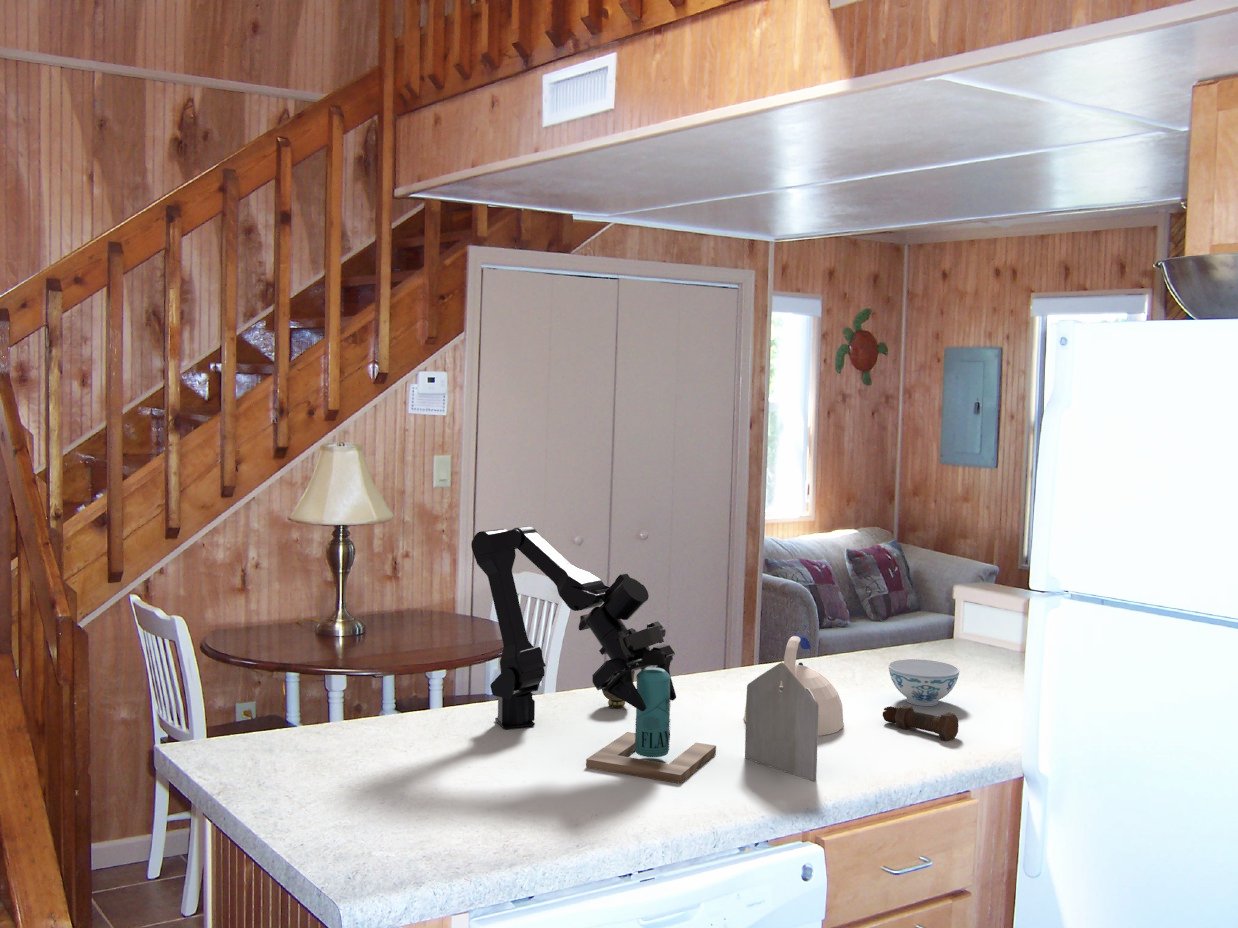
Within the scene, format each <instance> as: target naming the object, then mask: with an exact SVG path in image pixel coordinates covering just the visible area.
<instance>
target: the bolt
mask: <svg viewBox="0 0 1238 928" xmlns="http://www.w3.org/2000/svg"><path fill="white" fill-rule="evenodd" d="M882 717H883V719H884V721H885V722H888V723H891V724H895V725H896V727H897V728H898V729H901V730H908V729H911V728H913V729H918V730H923V731H925V732H930V733H931V732H932V733H935V734H937V735H938V737H939V739H940V740H941V741H944V742H949V741H950V742H951V741H953V740H954V739H955V738H956V737H957V736H958V733H959V719H958V717H957V715H956V714H955V713H954V712H950V711H949V712H946V713H943V714H940V716H939V715H938V716H937V715H933V714H929V713H925V712H919V711H915V709H914V708H913V707H912V706H911V705H907V704H906V705H901V706H899V707H896V706H892V705H891V706H886V707H884V708H883V711H882Z"/></svg>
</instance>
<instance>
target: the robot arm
mask: <svg viewBox="0 0 1238 928" xmlns="http://www.w3.org/2000/svg"><path fill="white" fill-rule="evenodd" d="M470 547H471V550H472V553H473V557H474V559H475V562H476V565H477V566H478V567H479V568H480V569H481V571H482V572H484V574H485V575H486V576H487V578H488V583H489V589H490V592H491V597H492V601H493V604H494V609H495V614H496V618H497V623H498V628H499V631H500V636H501V641H502V644H503V648H502V652H501V655H500V660H499V667H500V674H498V676H497V677H496V678H494V680H493V681H492V682H491V684H490V690H491V695H492V696H493V697H497V717H495V719H494V720H495V721H496V722H497V724H498V725H499V726H500V727H501V728H503V729H505V730H506V729H507V730H508V729H516V728H527V727H534V726H536V725H535V724H536V723H535V722H534V721H535V716H536V715H535V711H536V709H535V708H536V705H535V704H536V703H535V702H536V701H535V700H534V699H533V692H537V691H539V688H540V685H541V681H543V678H544V677H545V667H546V666H547V665H546V663H545V661H544V657H543V650H542V648H541V646H536V647H534V646H533V644H532V643H531V641H529V639H528V635H527V630H526V629H527V628H526V625H525V622H524V617H523V612H522V610H521V603H520V599H519V597H518V596H519V595H518V592H517V587H516V583H515V580H514V574H513V567H514V563H515V560H516V550H519V552H520V553H521V554H523V555H524V556H525V557H526V558H527V559H528V560H529V561H530V562H531V563H532V564H533V565H534V566H536V568H538V569H539V570H540V571H541V572H542V573H543V574H544V575H545V576H546V577H548V578H549V579H550V580H551V582H553V584H554V586H556V589H557V592H558V596H559V597H560V599H561V600H562V601H563V602H564V603H565V605H566V606H567V607H568V608H569V609H570V610H572V611H574V612H578V611H583V610H584V611H585V610H587V609H590V610H591V611H589V612H588V614H582V615H580V617H579V619H580V621H579V624H578V631H585V630H591V632H592V634H593V635H594V637H595V639H596V640H597V641H598V643H599V644H600V646H601V648H600V649H599V650H598V651H599V653H600V654H601V656H604V655H607V657H609V659H608V660H606V661H604V663H603V664H601V666H600V667H599V668H598V669H597V670H595V672H593V674H592V677H591V678H592V679H591V682H592V684H593V685H594V687H595V689H596V690H597V691H600V690H601V691H602V689H604V688H605V689H604V690H603V691H604V692H608V693H610V694H612V695H614V696H616V697H618V698H620V699H622V700H623V701H625V703H627V704H629V705H630V706H632V707H634V708H635V709H636V708H637V709H639V710H640V711H644V710H646V705H645V703H644V701H643V699H642V698H641V696H640V694H639V692H638V691H637V686H635V683H634V681H633V682H632V674H631V672H632V671H635V672H636V671H638V670H640V671H641V670H643V669H645V668H651V667H655V668H662V669H664V670H665V671H666V672H667V673H668V674H669V675H670V677H671V678H670V690H671V691H670V697H671V701H672V702H673V701H674V700H676V699H677V694H676V690H675V688H674V684H673V680H672V676H671V671H670V666H671V662H673V661H674V660H673V659H674V656H675V655H676V653H675V651H674V650H673V648H672V647H671V645H669V644H665V640H664V638H665V636H666V629H665V628H664V627H663V625H662V624H661V623H660V622H659V620H657V621H653V622H651V623H647V624H646V628H644V629H641V630H639V631H637V630H636V629H634V628H627V626H626V624H625V623H624V622H623V621H628V620H629V619H631V617H632V616H634V615H635V614H636V612H638V610H640V609H641V607H642V606H643V605H644V604H645V603H646V602H647V601H648V600H649V591H648V590H647V588H646V586H645V585H644V584H642V583H641V582H639V581H638V580H637V579H635V578H632V577H631V576H630V575H629V573H626V572H625V573H621V574H619V575H618V576H617V577H616V579H615V580H614V582H613V583H612V584H611V585H607V584H605V583H604V582H603V580H601V579H600V578H599V577H597V576H596V575H594V574H592V573H591V572H589V571H586V570H584V569H580V568H578V567H576V566H575V565H573V564H571V563H570V561H569V560H567V558H565V557H564V556H563V555H562V554H561V553H559V552H558V550H556V549H555V548H554V547H553V546H552V545H551V544H550V543H548V542H547V541H546V540H545V538H543V537H541V535H540V534H539V533H538V531H537V530H536V529H535V528H534V527H532V526H529V525H527V526H520V527H514V528H513V529H509V530H507V529H504V528H499V529H498V528H497V529H491V530H490V529H489V530H482V531H478V532H476V533H475V535H474V536H473V539H472V540H471V546H470ZM662 643H664V644H662ZM656 644H659V645H656ZM655 645H656V646H655ZM651 646H653V647H652V648H651ZM648 650H659V651H663V652H664V654H665V664H663V665H656V666H653V665H646V664H643V663H642V659H643V653H644V651H648Z"/></svg>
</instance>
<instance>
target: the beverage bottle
mask: <svg viewBox="0 0 1238 928" xmlns="http://www.w3.org/2000/svg"><path fill="white" fill-rule="evenodd" d="M642 663H643V664H646V665H653V666H656V665H663V664H665V654H664V652H663V651H659V650H651V649H650V650H648V651H644V653H643V659H642ZM635 676H636V678H635V679H636V689H637V691H638V692H639V694H640V696H641V698H642V699H643V701H644V703H645V705H646V710H644V711H640V710H639V709H637V708H635V709H636V712H635V713H636V714H635V723H634V724H635V725H634V726H635V727H634V728H635V732H634V733H635V742H634V744H635V753H636V754H637V755H639V756H641V757H645V758H660V757H664V756H667V755H668V754H669V751H670V746H671V744H670V742H671V740H670V738H671V729H670V723H671V719H670V718H671V717H670V716H671V714H670V713H671V701H672V700H671V697H670V691H671V690H670V678H671V679H672V676H671V674H670V675H669V674H668V673H667V672H666V671H665V670H664V669H662V668H655V667H651V668H645V669H643V670H641V669H640V671H639V672H638V673H637V674H636V675H635ZM670 676H671V677H670Z"/></svg>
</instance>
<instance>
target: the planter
mask: <svg viewBox="0 0 1238 928" xmlns="http://www.w3.org/2000/svg"><path fill="white" fill-rule="evenodd" d="M781 681H782V686H783V687H779V686H780V684H781ZM745 700H746V701H745V707H746V722H745V735H744V736H745V740H744V743H745V744H744V758H745V759H747V760H749V761H752V762H756V763H758V764H761V765H764V766H766V767H770V768H772V769H775V770H779V771H782V772H784V773H788V774H791V775H794V776H796V777H799V778H802V779H805V780H808V781H811V782H816V781H817V772H818V768H817V766H818V764H817V763H818V740H819V739H818V738H819V736H818V708H819V705H818V703H817V701H816V698H815V697H814V695H813V693H812V692H811V691H810V689H809V688H804V686H803V685H802V684H801V683H800V682H799V680H798V679H797V678H796V677H795V676H794V674H793V673H792V672H791V671H790V670H789V669H788V667H787V666H786V665H785V664H784V661H783V662H779V663H777V664H776V665H774V666H772V667H771V668H770V669H768V670H766V671H765V672H764V673H762V674H760V675H759V676H757V677H756V678H754V679H753V680H752V681H750V682H749V683H748V684H747V686H746V699H745Z"/></svg>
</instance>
